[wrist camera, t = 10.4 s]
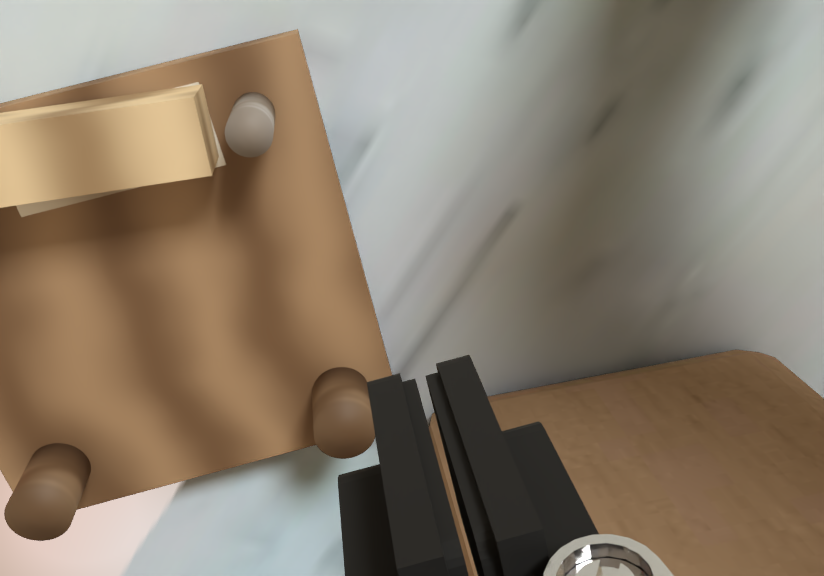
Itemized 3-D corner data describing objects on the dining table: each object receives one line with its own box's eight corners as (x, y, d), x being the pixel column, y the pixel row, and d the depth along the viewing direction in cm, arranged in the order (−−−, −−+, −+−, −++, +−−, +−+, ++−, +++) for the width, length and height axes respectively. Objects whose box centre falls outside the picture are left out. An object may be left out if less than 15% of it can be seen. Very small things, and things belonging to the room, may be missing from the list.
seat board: (297, 29, 37) (298, 44, 31) (399, 402, 46) (415, 467, 40) (-158, 142, 36) (-245, 180, 30) (40, 499, 45) (3, 580, 39)
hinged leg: (202, 84, 35) (193, 97, 32) (218, 156, 36) (212, 175, 33) (-23, 116, 34) (-55, 132, 31) (3, 188, 35) (-25, 211, 32)
